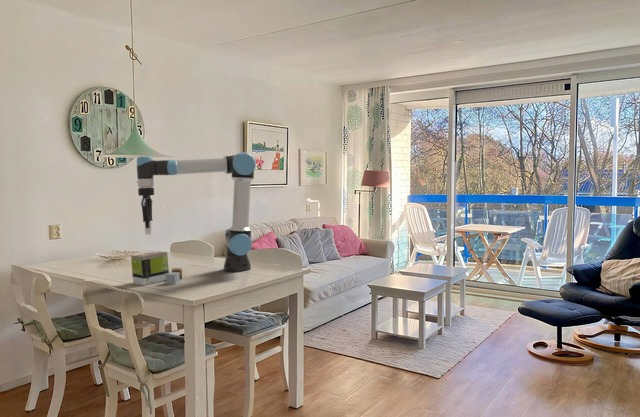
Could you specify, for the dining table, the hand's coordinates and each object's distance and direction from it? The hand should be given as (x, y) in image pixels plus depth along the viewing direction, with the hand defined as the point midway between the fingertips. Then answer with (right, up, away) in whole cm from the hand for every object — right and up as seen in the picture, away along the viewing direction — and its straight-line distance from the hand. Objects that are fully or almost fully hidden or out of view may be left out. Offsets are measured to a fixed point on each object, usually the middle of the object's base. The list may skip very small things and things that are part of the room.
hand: (148, 234), depth 247 cm
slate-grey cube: (+13, -24, -3) cm, 28 cm away
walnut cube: (+12, -24, +8) cm, 28 cm away
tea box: (+1, -25, +2) cm, 25 cm away
